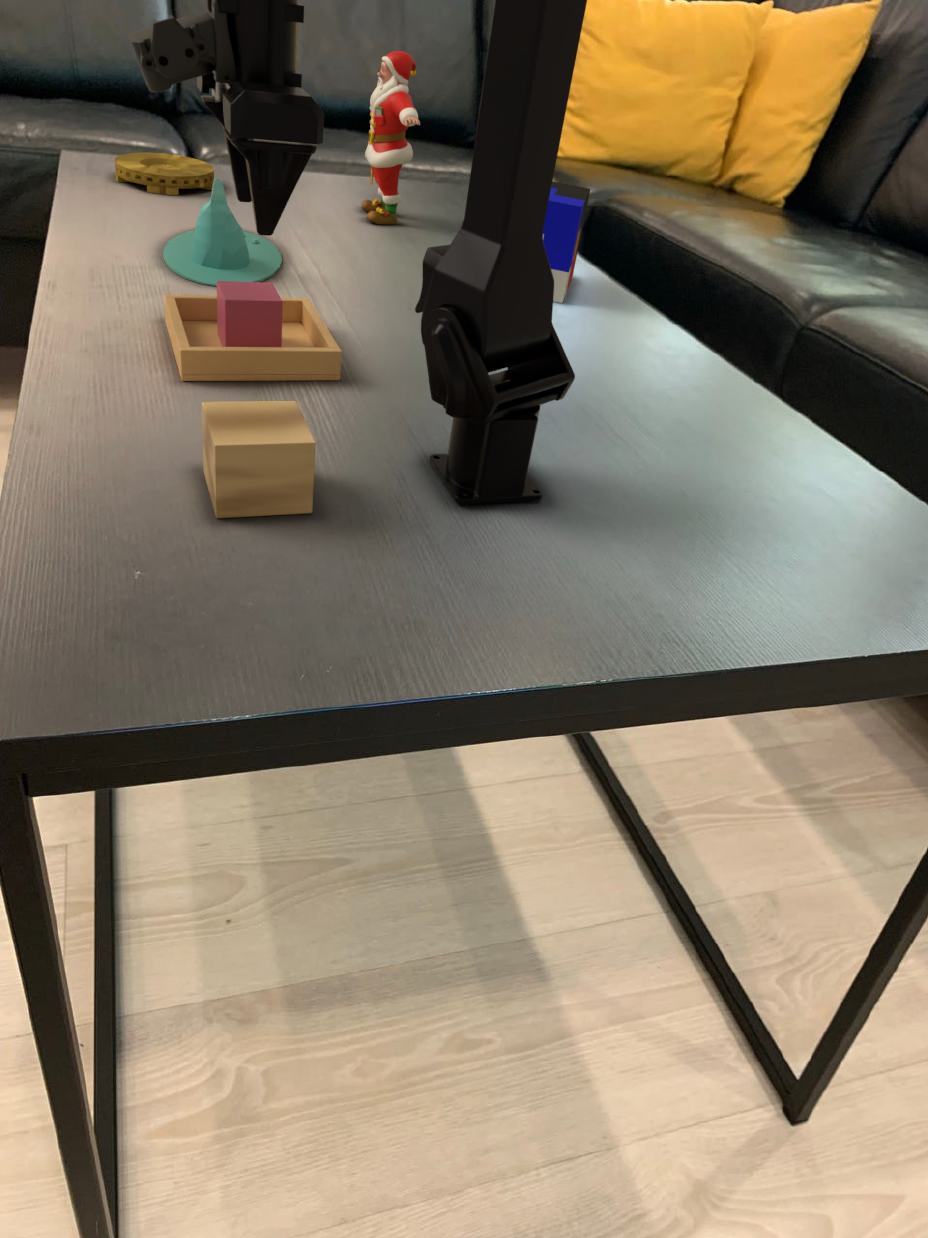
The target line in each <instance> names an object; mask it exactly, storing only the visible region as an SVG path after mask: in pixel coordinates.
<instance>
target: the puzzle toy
mask: <svg viewBox="0 0 928 1238" xmlns="http://www.w3.org/2000/svg"><path fill="white" fill-rule="evenodd" d="M590 195H591V188H590V187H589V188H588V187H583V186H578V185H574V184H568V183H563V182H558V181H552V186H551V191H550V196H549V202H548V207H547V212H546V217H545V222H544V228H543V243H544V246H545V250H546V253H547V257H548V260H549V264H550V267H551V271H552V274H553V278H554V295H553V303H560V304H563V303H564V301H565V298H566V294H567V293H568V291H569V287H570V285H571V283H572V280H573V278H574V277H573V276H574V271H575V266H576V262H577V257H578V252H579V248H580V243H581V237H582V232H583V229H584V223H585V218H586V214H587V213H586V212H587V208H588V205H589V198H590Z"/></svg>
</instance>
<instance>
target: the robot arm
mask: <svg viewBox="0 0 928 1238" xmlns="http://www.w3.org/2000/svg"><path fill="white" fill-rule="evenodd" d="M587 3H588V0H494V6H493V11H492V12H493V13H492V18H491V19H492V20H491V27H490V32H489V41H488V47H487V54H486V55H487V56H486V61H485V69H484V76H483V81H482V82H483V83H482V88H481V89H482V90H481V96H480V104H479V109H478V110H479V111H478V117H477V125H476V132H475V138H474V146H473V151H472V152H473V154H472V160H471V167H470V173H469V180H468V189H467V195H466V202H465V209H464V215H463V220H462V224H461V226H460V228H459V230H458V232H457V233H456V235H455V236H454V238H453V240H452V241H451V242H450V244H443V245H436V246H429V247H427V249H426V251H425V254H424V257H423V260H422V282H421V290H420V295H419V298H418V299H419V300H418V301H417V303H416V306H415V308H414V311H415V313H417V314H420V313H422V314H421V319H420V335H421V342H422V345H423V346H424V352H425V358H426V359H425V360H426V367H427V375H428V384H429V390H430V398H431V400H432V401H434V402H435V403H436V404H439V405H440V406H442V407H443V409H445V415H448V416H449V417H451V418H452V421H451V429H450V437H449V443H448V449H447V450H448V451H447V453H433V454H431V455H430V456H429V460H428V461H429V464H430V466H431V468H432V469H433V471H434V472H435V473H436V475H437V477H438V478H439V480H440V481H441V483H442V485H443V486H444V487H445V489H446V490H447V492H448V494H449V495H450V497H451V498H452V499H453V501H454V502H455V503H456V504H458V505H462V506H463V505H464V506H465V505H480V504H481V505H482V504H484V505H485V504H498V503H502V504H503V503H514V502H516V503H517V502H519V503H520V502H535V501H537V502H538V501H541V500H542V499H543V496H544V491H543V490H542V488H540V487H539V485H538V484H537V482H536V481H535V480H534V479H533V477H532V476H531V475H530V474H529V466H530V462H531V456H532V451H533V446H534V442H535V437H536V432H537V427H538V421H539V415H540V411H541V405H544V404H547V403H550V402H553V401H560V400H561V401H562V400H563V399H564V398H565V396H566V395H567V393H568V391H569V389H570V388H571V386H572V385H573V383H574V382H575V379H576V374H575V372H574V369H573V367H572V365H571V363H570V360H569V358H568V356H567V353H566V351H565V349H564V347H563V345H562V342H561V340H560V337H559V336H558V333H557V331H556V329H555V327H554V324H553V323H552V322H553V310H554V309H553V307H554V301H553V295H554V278H553V274H552V271H551V267H550V264H549V260H548V257H547V253H546V250H545V246H544V243H543V228H544V222H545V217H546V212H547V207H548V202H549V196H550V191H551V186H552V181H553V180H554V175H555V169H556V164H557V160H558V154H559V149H560V145H561V139H562V135H563V134H562V133H563V128H564V124H565V118H566V112H567V108H568V101H569V97H570V91H571V87H572V81H573V76H574V71H575V65H576V61H577V55H578V50H579V45H580V39H581V34H582V29H583V24H584V19H585V14H586V13H585V12H586V8H587ZM298 23H301V24H304V23H305V5H303V4H302V3H300V2H299V0H204V11H203V12H200V13H199V12H198V13H196V14H195V13H194V14H192V15H187V16H183V17H178V18H175V17H174V15H173V14H170V15H169V14H168V17H167V18H164V19H160V20H156V19H151V20H150V26H147V27H144V28H141V29H137V30H134V31H132V32H130V33H129V34H127V37H128V39H129V42H130V45H131V48H132V50H133V51H132V52H133V53H134V56H135V59H136V61H137V64H138V66H139V69H140V72H141V74H142V78H143V80H144V82H145V83H144V84H146V86H147V89H148V91H149V92H150V93H160V92H164V91H167V90H171V88H172V86H173V85H175V84H179V83H181V82H185V81H189V80H192V79H196V88H197V89H198V90H199V92H200V93H201V94H203V95H200V99H201V101H202V102H203V104H204V105H205V106H206V108H207V109H208V110H209V112H211V114H212V115H213V116H214V117H215V118H216V120H217V121H218V122H219V123H220V124H221V127H222V132H223V136H224V142H225V145H226V150H227V155H228V160H229V164H230V170H231V174H232V179H233V185H234V190H235V194H236V195H235V196H236V198H237V200H238V202H240V203H251V204H252V212H253V218H254V224H255V229H256V230H255V231H256V233H257V235H258V236H267V237H268V236H272V235H273V234H274V232H275V230H276V228H277V226H278V224H279V222H280V220H281V217H282V215H283V213H284V211H285V209H286V207H287V205H288V203H289V201H290V198H291V196H292V194H293V192H294V190H295V188H296V186H297V184H298V182H299V181H300V179H301V176H302V174H303V172H304V171H305V169H306V167H307V165H308V163H309V161H310V159H311V157H312V155H314V154H316V152H317V148H318V145H320V144H323V143H324V129H325V127H324V126H325V112H324V111H323V110H322V108H321V106H319V104H318V103H317V102H316V101H315V100H314V98H313V97H312V95H310V94H309V93H308V92H307V91H306V90H304V89H303V88H302V81H303V74H302V73H301V72H300V71H299V70H298V69H297V46H298V45H297V43H298ZM210 90H211V95H208V94H210ZM205 94H206V95H205ZM553 182H554V181H553ZM503 369H505V370H503ZM499 370H502V371H499ZM497 371H498V372H497ZM493 372H496V373H493ZM489 373H491V374H489Z"/></svg>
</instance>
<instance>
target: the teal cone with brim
mask: <svg viewBox="0 0 928 1238" xmlns="http://www.w3.org/2000/svg"><path fill="white" fill-rule="evenodd" d="M225 191H226V190H225V185H224V180H223V179H221V178H214V183H213V188H212V190H211V195H210V200H209V201H208V202H207V203H205V204H204V205H203V206H201V208H200V212H199V214H198V216H197V219H196V224H195V229H192V230H188V231H185V232H183V233H180V234H178V235H177V236H175V237H173V238H171V239H170V240H168V242H167V243H166V244H165V245H164V247H163V252H162V258H163V260H164V262H165V265H166V266H167V267H168V268H169V269H170V270H171V271H172V272H173V273H174V274H175V275H177V276H179V277H181V278H183V279H185V280H188V281H190V282H194V283H196V284H199V285H200V284H201V285H205V286H212V287H217V281H238V282H264V281H266V280H267V279H270V278H271V277H273V276H274V275H275V274H276V273H277V272H278V271H279V270H280V267H281V265H282V263H283V259H282V253H281V251H280V250H279V249H278V248H277V246H276V245H274V244H273V243H272V242H271V241H269V240H268V239H266V238H264V237H262V236H261V235H259V234H254V233H252V232H248V231H246V230H244V229H243V228H242V227H241V225H240V224H239V222H238V221H237V219H236V217H235V215H234V214H233V212H232V210H231V208H230V206H229V205H228V201H227V197H226V192H225Z"/></svg>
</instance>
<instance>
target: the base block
mask: <svg viewBox="0 0 928 1238" xmlns="http://www.w3.org/2000/svg"><path fill="white" fill-rule="evenodd" d="M201 424H202V425H201V427H202V428H201V429H202V464H203V465H202V466H203V469H202V470H203V476H204V478H205V482H206V486H207V489H208V494H209V498H210V501H211V504H212V505H211V506H212V508H213V511H214V516H215V518H216V519H228V518H229V519H230V518H246V517H263V516H267V517H268V516H285V515H303V514H304V515H305V514H312V513H313V508H314V507H313V506H314V505H313V504H314V487H315V485H314V484H315V468H316V467H315V466H316V447H317V446H316V445H317V443H316V442H317V441H315V438H314V436H313V433H312V431H311V430H310V427H309V425H308V423H307V421H306V419H305V417H304V415H303V412H302V411H301V407H300V406H299V404H298V402H297V401H296V400H264V401H263V400H254V401H253V400H250V401H249V400H248V401H247V400H242V401H241V400H240V401H239V400H238V401H201Z"/></svg>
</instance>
